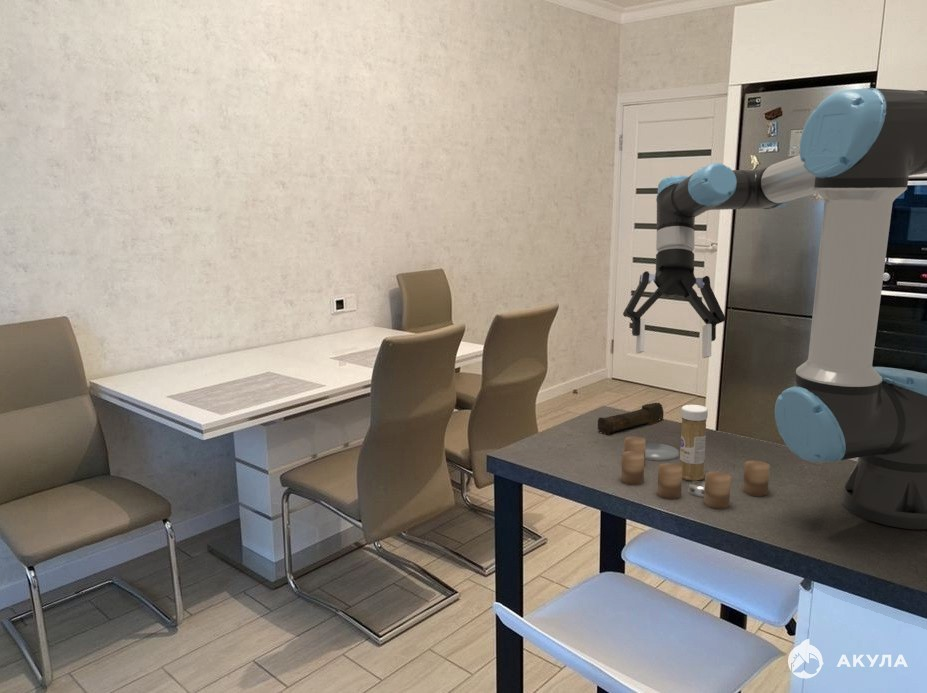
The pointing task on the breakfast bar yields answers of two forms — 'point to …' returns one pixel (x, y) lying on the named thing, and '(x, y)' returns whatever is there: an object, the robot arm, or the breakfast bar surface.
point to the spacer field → (672, 476)
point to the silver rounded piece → (697, 488)
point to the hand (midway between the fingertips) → (673, 354)
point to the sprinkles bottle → (693, 441)
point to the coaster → (660, 452)
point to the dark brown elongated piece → (632, 418)
